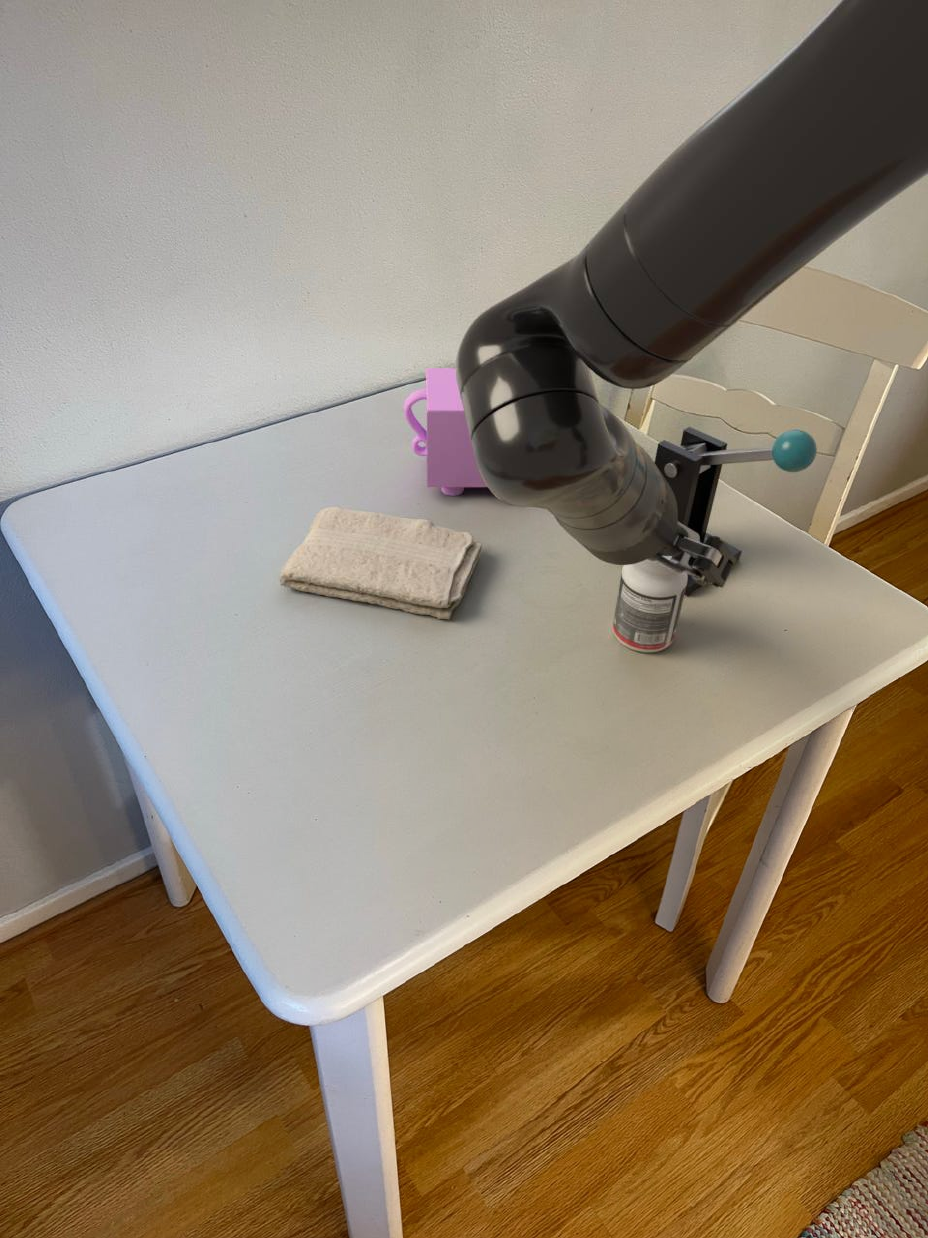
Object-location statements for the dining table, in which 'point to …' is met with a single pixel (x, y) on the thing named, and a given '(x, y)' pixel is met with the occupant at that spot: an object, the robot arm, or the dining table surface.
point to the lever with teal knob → (764, 452)
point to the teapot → (444, 434)
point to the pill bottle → (648, 606)
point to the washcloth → (383, 561)
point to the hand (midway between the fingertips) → (660, 555)
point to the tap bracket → (692, 485)
